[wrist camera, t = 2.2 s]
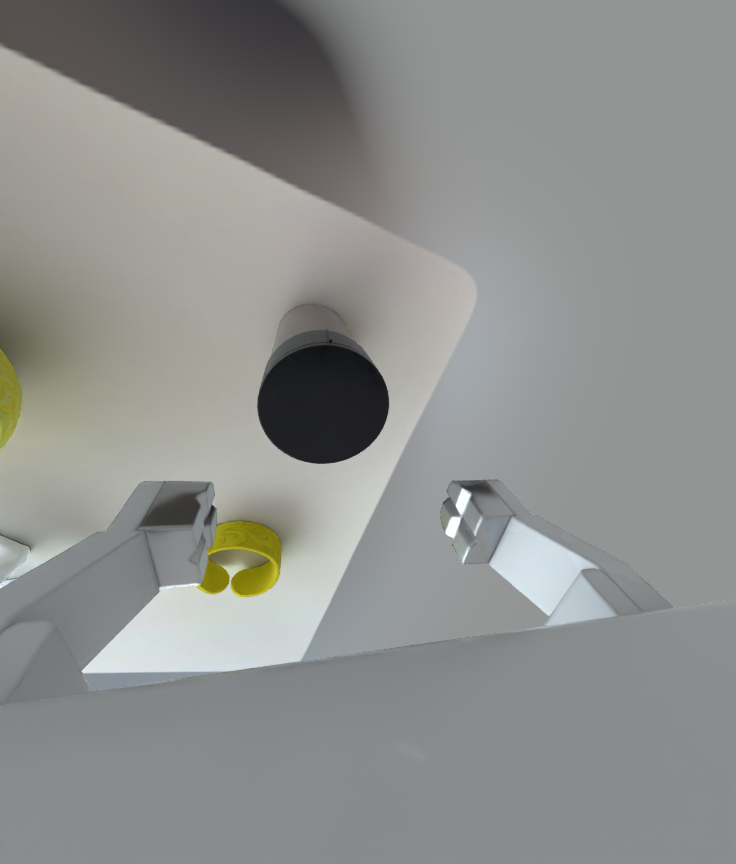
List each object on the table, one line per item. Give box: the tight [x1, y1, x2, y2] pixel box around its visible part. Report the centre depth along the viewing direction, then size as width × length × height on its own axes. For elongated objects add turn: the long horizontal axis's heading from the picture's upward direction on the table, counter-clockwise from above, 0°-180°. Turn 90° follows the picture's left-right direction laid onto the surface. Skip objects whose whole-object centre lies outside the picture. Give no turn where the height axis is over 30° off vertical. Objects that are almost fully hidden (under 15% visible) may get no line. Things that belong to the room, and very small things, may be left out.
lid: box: [257, 329, 389, 464], centre depth 15 cm, size 6×6×3 cm
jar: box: [271, 304, 357, 355], centre depth 19 cm, size 5×5×12 cm
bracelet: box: [196, 521, 281, 597], centre depth 31 cm, size 7×8×3 cm
